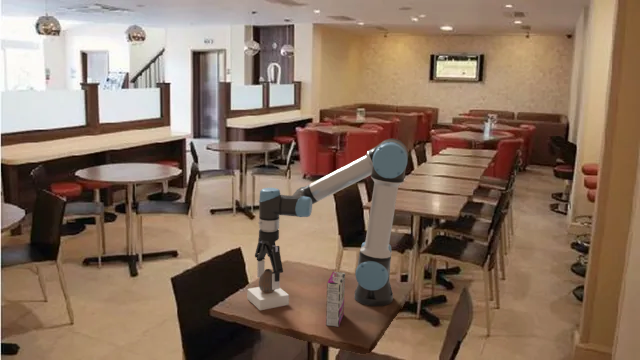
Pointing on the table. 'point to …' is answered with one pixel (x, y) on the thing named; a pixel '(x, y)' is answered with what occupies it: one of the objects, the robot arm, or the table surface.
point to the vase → (266, 281)
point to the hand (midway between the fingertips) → (268, 282)
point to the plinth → (267, 298)
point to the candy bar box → (335, 299)
